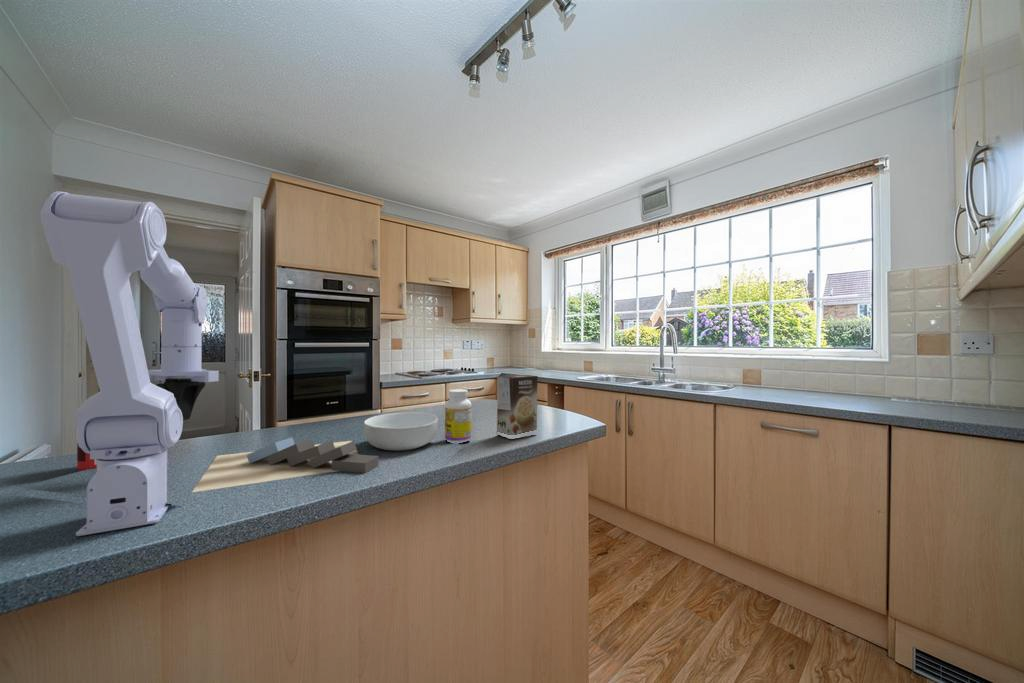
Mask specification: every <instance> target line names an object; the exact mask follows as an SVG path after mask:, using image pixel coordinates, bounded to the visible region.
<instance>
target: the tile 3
mask: <svg viewBox="0 0 1024 683" xmlns="http://www.w3.org/2000/svg"><path fill="white" fill-rule="evenodd" d="M333 443H334V441H333V439H331V440H329V441H325V442H323V443H319V444H320V445H318V446H315V447H313V448H310V449H308V450H306V451H303V452H301V453H298V454H296V455H293V456H291V457H288V458H287V459H288V462H289V465H290V467H291V466H294V465H296V464H299V463H301V462H304V461H306V460H309V459H311V458H314V457H316V456H319V455H321V454H323V453H326V452H328V451H330V450H333V449H335V446H334V444H333Z"/></svg>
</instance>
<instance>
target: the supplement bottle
mask: <svg viewBox="0 0 1024 683" xmlns="http://www.w3.org/2000/svg"><path fill="white" fill-rule="evenodd" d="M468 392H469V391H468V389H463V388H458V389H457V388H456V389H450V390H448V395H449V399H448V400H447V401H446V402H445V404H444V440H445V439H446V440H450V441H464V440H467V439H470V438H471V439H472V402H471V400H469V399H468V395H469V393H468Z"/></svg>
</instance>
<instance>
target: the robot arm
mask: <svg viewBox="0 0 1024 683" xmlns="http://www.w3.org/2000/svg"><path fill="white" fill-rule="evenodd" d="M40 221H41V224H42V228H43V232H44V235H45V240H46V242H47V246H48V249H49V251H50V255H51V257H52V261H53V262H55V263H56V264H58V265H60V266H63V267H65V268H67V271H68V275H69V278H70V282H71V283H70V284H71V286H72V291H73V294H74V297H75V301H76V305H77V309H78V312H79V316H80V321H81V324H82V328H83V332H84V335H85V338H86V342H87V347H88V351H89V355H90V359H91V361H92V365H93V368H94V373H95V377H96V381H97V384H98V385H97V386H98V388H99V391H98V392H96V393H95V394H92V396H89V397H88V398H87V399H86V400H85V401H83V402H82V403H81V405H80V406H79V407H78V410H76V413H75V416H76V433H75V434H76V437H75V438H76V444H77V443H78V445H79V447H80V448H81V449H82V450H83V451H84V452H85V453H89V454H90V459H97V468H96V472H95V473H94V475H93V476H92V477H91V478H90V480H89V481H88V484H87V487H86V523H85V524H84V525H83V526H82V527H80V528H79V529H78V530H77V531H76V532H75V536H76V537H81V536H87V535H94V534H98V533H105V532H106V533H107V532H110V531H116V530H122V529H123V530H124V529H128V528H133V527H139V526H146V525H152V524H157V523H159V521H160V520H161V519H162V517H163V516H164V515H165V514H166V513H167V511H168V510H169V509H170V507H171V506H172V503H168V449H169V448H172V447H173V446H174V445H175V444H176V443H177V442H178V441H179V440H180V438H181V434H182V432H183V425H184V421H186V420H190V419H191V416H192V414H193V409H194V406H195V404H196V401H197V400H198V397H199V395H200V393H201V392H202V390H203V389H204V388H205V386H206V383H212V382H213V383H214V382H219V376H220V375H219V374H220V373H219V372H220V371H219V370H209V369H208V370H207V369H206V368H205V369H204V368H202V360H203V359H202V356H203V354H202V345H203V344H202V339H203V337H202V334H203V333H202V332H203V331H202V330H203V326H202V325H203V323H205V320H206V319H205V318H206V317H205V316H206V310H207V305H208V295H207V291H206V288H205V287H204V286H200V284H199V283H194V281H193V280H192V279H191V277H190V275H189V274H188V273H187V271H186V270H185V268H184V266H183V265H182V264H181V262H179V261H178V260H176V259H174V258H170V257H169V255H168V254H167V252H166V250H165V247H164V245H165V243H166V240H167V231H168V230H167V223H166V218H165V215H164V214H163V211H162V210H161V209H160V208H159V207H158V206H157V205H156V204H155V203H154V202H153V201H143V202H142V201H135V200H126V199H120V198H119V199H117V198H108V197H102V196H101V197H100V196H92V195H84V194H77V193H76V194H75V193H69V192H66V191H59V190H56V191H54V192H52V193H50V195H48V197H47V198H46V199H45V201H44V204H43V206H42V209H41V210H40ZM135 272H139V276H140V278H141V279H140V280H142V282H143V283H144V284H145V285H146V287H148V288H149V289H150V291H151V292H152V299H153V300H154V304H155V305H154V306H155V308H156V310H157V311H158V312H160V313H161V317H160V318H161V319H160V320H161V322H160V323H161V326H160V327H161V329H160V331H161V332H160V334H161V335H160V337H161V338H160V339H161V340H160V341H161V347H160V355H161V356H160V358H161V359H160V369H148V365H147V359H146V355H145V354H146V353H145V350H144V345H143V340H142V335H141V332H140V325H139V322H138V316H137V311H136V307H135V301H134V296H133V292H132V286H131V282H130V281H131V280H130V277H131V275H132V274H133V273H135ZM151 381H164V382H163V383H157V384H154V383H152V382H151Z"/></svg>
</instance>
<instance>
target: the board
mask: <svg viewBox="0 0 1024 683" xmlns="http://www.w3.org/2000/svg"><path fill="white" fill-rule="evenodd" d="M350 442H352V440H343V441H333V444H334V446H335V448H338V447H340V446H342V445H345V444H347V443H350ZM320 444H321V443H318V444H314V445H315V446H318V445H320ZM255 451H256V450H255ZM255 451H248V452H247V451H245V452H239V453H230V454H221V455H219V454H218V455H216V456H215V458H214V460H213V461H212V463H210V466H208V468H207V470H206V471H205V473H204V474H203V475H202V477H201V478H200V479H199V481H198V482H197V484H196V486H195V487H194V488H193V490H191V493H192V494H193V493H198V492H199V493H200V492H207V491H211V490H212V491H213V490H218V489H219V490H221V489H226V488H232V487H240V486H246V485H253V484H259V483H266V482H267V483H268V482H274V481H281V480H286V479H287V480H288V479H294V478H300V477H307V476H314V475H322V474H328V473H335V472H337V471H335V470H332V461H329V462H327V463H325V464H322V465H320V466H317V467H315V468H313V469H312V466H311V464H310V461H309V460H306V461H304V462H301V463H299V464H296V465H294V466H291V467H290V465H289V462H288V459H285V460H282V461H280V462H277V463H275V464H272V465H270V464H269V462H268V459H267V458H264V459H261V460H258V461H256V462H253V463H250V464H249V461H248V458H247V455H248V454H250V453H252V452H255ZM330 451H331V450H330ZM348 454H356V455H360V454H359V453H358V449H357V450H354V451H352V452H350V453H348ZM311 459H312V458H311Z"/></svg>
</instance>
